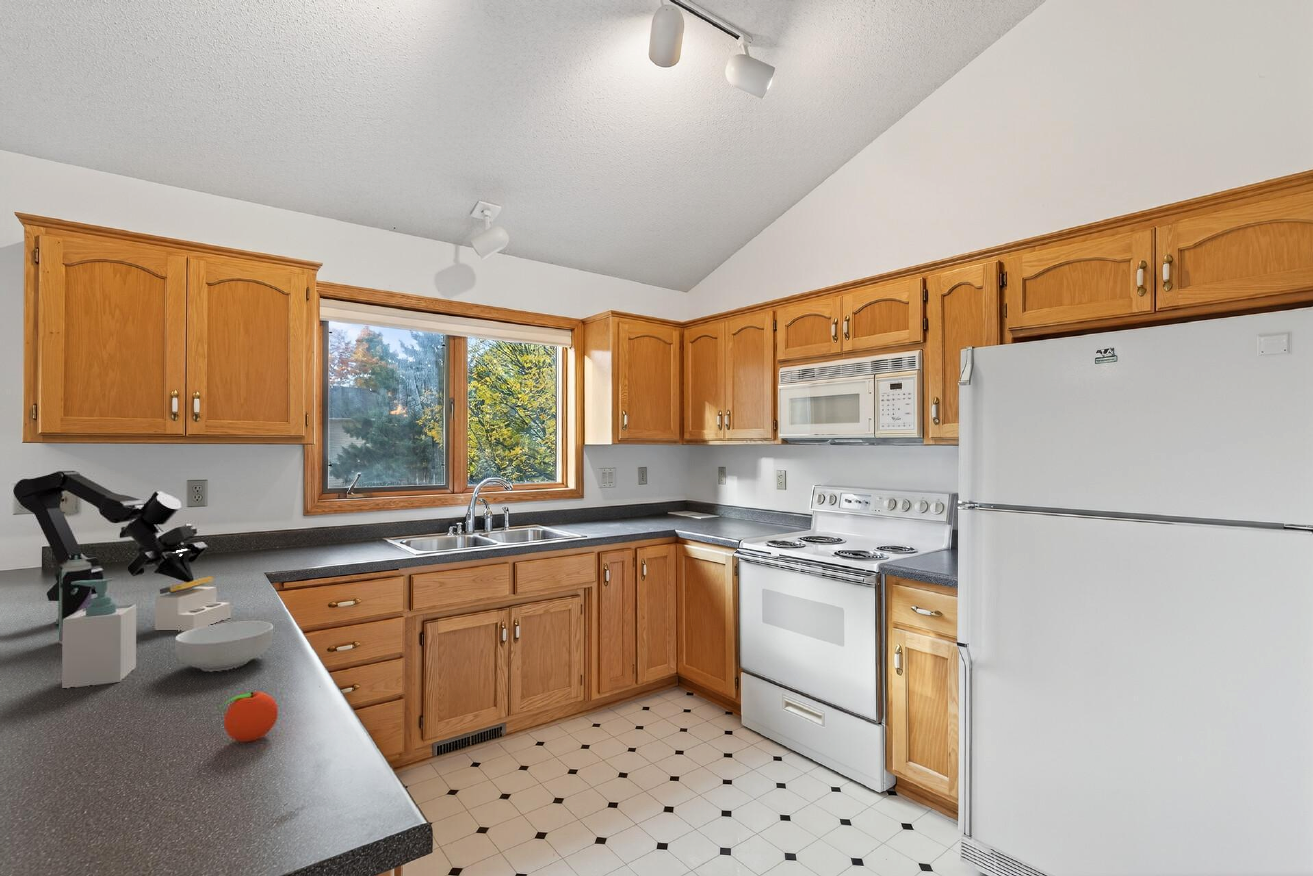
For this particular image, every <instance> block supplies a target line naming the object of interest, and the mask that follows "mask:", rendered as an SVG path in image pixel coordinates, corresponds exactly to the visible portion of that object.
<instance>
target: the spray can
mask: <svg viewBox="0 0 1313 876" xmlns="http://www.w3.org/2000/svg"><path fill="white" fill-rule="evenodd" d="M60 567H61V568H60V575H59V625H58V644H59V645H62V640H63V619H65V618H67V617H68V616H70V615H72V614H74V613H76V612H78V611H80V610H81V609H84V608H86V607H87V606H88V605H91V599H92V595H91V587H90V586H83V585H78V584H74V585H72V584H71V582H75V581H82V580H92V566H91V563H90V562H87V561H85V560H84V558H82V557H81V554H71V558H69V560H68V562H66V563H64V564H63V565H61V566H60Z"/></svg>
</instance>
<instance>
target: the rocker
mask: <svg viewBox="0 0 1313 876" xmlns="http://www.w3.org/2000/svg"><path fill="white" fill-rule="evenodd" d="M213 581H214V579H213V576H207V577H204V578H199V579H194V580H193V581H191V582H182V583H178V584H175V585H171V586H166V587H163V588H159V593H160V595H162V594H163V595H164V594H167V593H168V594H170V593H171V594H172V593H176V592H180V591H183V590H187V589H190V588H194V587H202V586H204V585H205V584H207V583H210V582H213Z"/></svg>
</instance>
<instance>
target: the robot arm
mask: <svg viewBox="0 0 1313 876" xmlns="http://www.w3.org/2000/svg"><path fill="white" fill-rule="evenodd" d="M63 492H67V493H68V492H69V493H70V494H72V495H74V496H76V497H78V498H79V499H81V500H83V501H85V502H87V503H88V504H90V505H92V506H94V507H96V508H97V509H98V511H99V514H100V515H101V516H102V517H103V518H104V519H106V521H108V522H110V523H111V524H120V523H121V524H122V523H128V524H127V525H126V526H122V527H121V528H120V532H119V537H118V538H119V539H124V538H132V539H133V541H135V543H136V544H137V545H138V546H139V548H138V549H137V551H138V554H137V555H136V556H135V557H134V558H133V559H132V561H131V562H130V563H129V564H127V572H128V573H129V574H130V575H131V576H132V577H137V576H140V575H143V574H144V573H145V568H144V567H150V566H154V565H155V567H156V569H155V570H154V571H153V572H154V573H155V574H158V575H162V576H166V577H170V578H173V579H176V580H179V581H182V582H183V583H185V582H191V581H193V580H195V579H194V575H193V573H192V570H191V566H190V564H193V563H195V562H196V561H197V560H198V559H199V558H200V557H201V556H202V555H203V554H204V553H205V551H207V549H208V545H207V544H206V542H204V541H195V542H191V543H187V545H185V543H184V542H186V541H188V540H190V539H193V538H195V537H196V535H197V533H198V530H197V529H198V528H196V527H195V526H194V525H193V524H192V523H186V524H184V525H182V526H178V527H174V528H173V529H171V530H167V531H164V530H162V528H161V527H160V526H159V525H165V524H167V523H168V522H169V520H170V519H171V518H173V516H174V515H175V514H176V513H177V512H178V511H179V510H180V509H181V508H182V502H181V501H180V499H178V497H177V498H175V497H174V496H173V495H170V494H169V493H168V494H167V493H165V492H164V491H161V490H160V491H154V492H153V494H152V495H151V497H150V498H149V499H148V500H147V501H146V503H145V502H144V501H143V500H141V499H140V498H136V497H134V496H133V497H132V496H131V495H130V496H129V495H125V494H119V493H116V492H113V491H111V490H109V488H108V489H107V488H106V487H104V486H102V485H100V484H99V483H96V482H95V481H93V480H91V479H89V478H87V477H85V476H83V475H81V473H80V472H78V471H76V470H58V471H55V472H52V473H50V474H45V475H42V476H37V477H33V478H22V479H20V480H19V481H17V483H16V484H15V485H14V487H13V495H14V497H15V498H16V500H17V501H18V502H19V504H20V506H21V507H23V508H24V509H25V510H27V511H29V512H31V513H32V514H34V516H35V518H36V521H37V522H38V524H39V526H40V529H41V530H42V533H43V535H44V537H45V539H46V541H47V543H48V545H49V547H50V549H51V551H52V553H53V556H54V558H55V559H56V562H57V567H56V571H55V575H54V576H55V580H56V582H55V584H54V585H53V586H52V587H50V588H49V590H48V591H47V592H46V596H47V599H48V601H49V602H58V604H57V608H58V609H57V613H58V616H57V618H56V619H55V626H58V627H59V575H60V568H61V567H60V566H61V565H63V564H64V563H66V562H68V560H69V558H71V554H81V557H82V558H84V560H85V561H87V562H90V563H91V566H92V580H104V573H103V572H104V569H103V568H102V567H101V565H100V561H99V559H98V558H97V557H90V558H89V557H87V556H85V555H84V553H83V552H82V550H81V548H80V546H79V543H78V541H77V539H76V536H75V535H74V533H73V531H72V529H71V527H70V525H69V523H68V520H67V519H66V517H65V514H64V513H63V510H62V508H61V503H62V500H63V496H64V495H63ZM184 545H185V547H184V548H182V547H183V546H184ZM180 548H182V549H181V550H180ZM96 594H97V592H96V591H95V586H94V587H91V596H92V595H96Z"/></svg>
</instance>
